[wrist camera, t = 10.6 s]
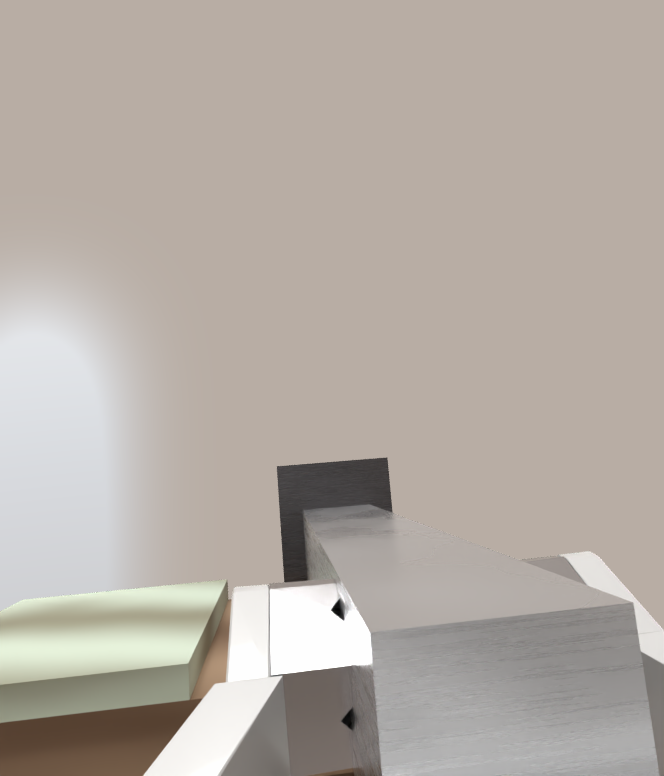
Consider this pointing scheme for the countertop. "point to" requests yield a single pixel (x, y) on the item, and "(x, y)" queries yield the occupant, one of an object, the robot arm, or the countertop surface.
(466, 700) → the grey metal bar
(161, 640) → the brown wooden box
